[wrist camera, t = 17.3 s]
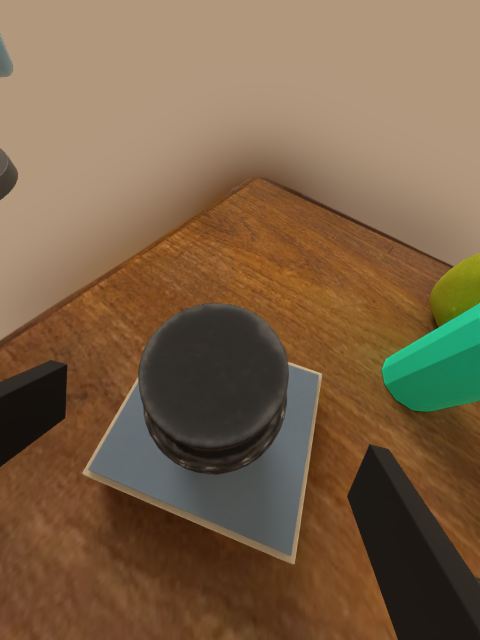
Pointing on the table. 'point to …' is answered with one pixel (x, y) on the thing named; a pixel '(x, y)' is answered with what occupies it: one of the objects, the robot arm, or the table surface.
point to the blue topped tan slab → (224, 489)
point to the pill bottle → (214, 387)
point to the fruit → (456, 291)
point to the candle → (438, 366)
